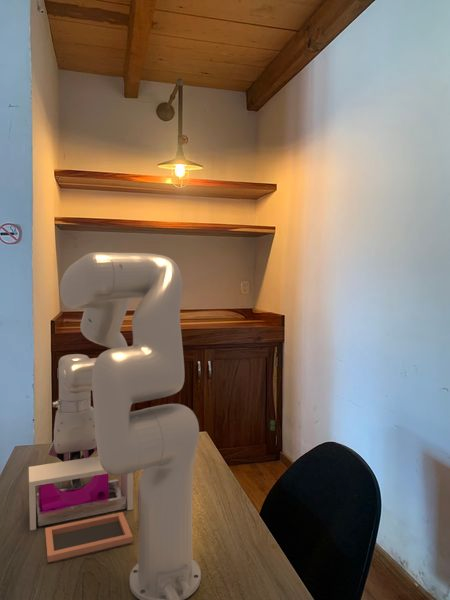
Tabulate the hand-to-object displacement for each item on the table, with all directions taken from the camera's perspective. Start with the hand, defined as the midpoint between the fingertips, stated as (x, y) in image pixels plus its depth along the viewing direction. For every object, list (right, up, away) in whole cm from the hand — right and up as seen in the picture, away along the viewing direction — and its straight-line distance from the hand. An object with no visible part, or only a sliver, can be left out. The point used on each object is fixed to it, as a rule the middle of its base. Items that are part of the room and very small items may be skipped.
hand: (75, 475), depth 114 cm
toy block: (+3, -4, -10) cm, 11 cm away
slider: (+3, -3, -6) cm, 7 cm away
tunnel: (+5, -4, -11) cm, 12 cm away
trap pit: (+10, -5, -22) cm, 24 cm away
